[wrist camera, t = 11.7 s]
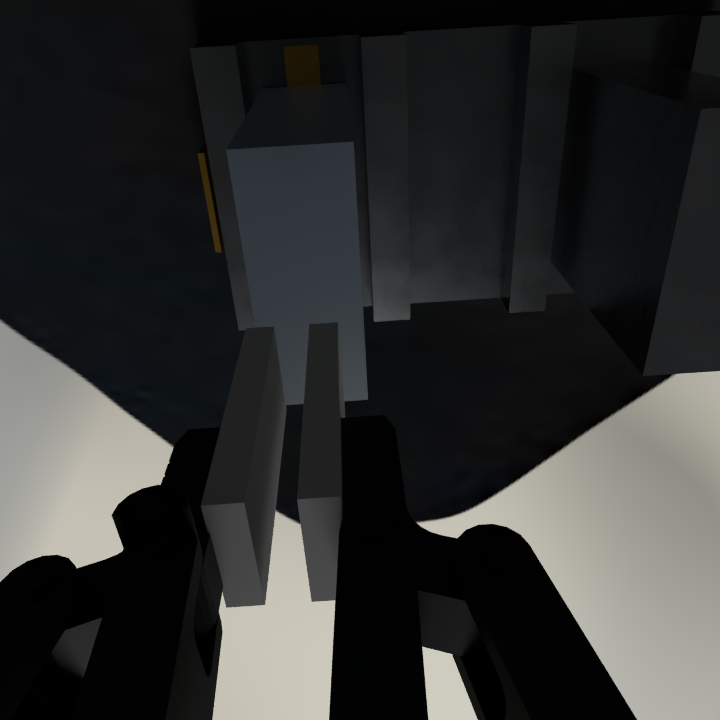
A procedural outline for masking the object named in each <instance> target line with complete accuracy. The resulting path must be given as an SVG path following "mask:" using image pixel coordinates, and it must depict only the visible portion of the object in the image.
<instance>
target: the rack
mask: <svg viewBox="0 0 720 720" xmlns="http://www.w3.org/2000/svg"><path fill="white" fill-rule="evenodd" d="M190 54H191V60H192V65H193V71H194V77H195V82H196V88H197V94H198V100H199V105H200V111H201V117H202V122H203V128H204V134H205V139H206V144H205V145H204V146H203V148H202V149H201V150H200V151H199V152H198V158H199V163H200V169H201V174H202V180H203V185H204V191H205V196H206V201H207V207H208V212H209V218H210V223H211V229H212V234H213V240H214V245H215V250H216V252H222V250H223V247H224V248H225V253H226V259H227V265H228V271H229V276H230V282H231V288H232V293H233V299H234V305H235V310H236V316H237V322H238V328H239V330H246V328H255V323H254V317H253V310H252V304H251V298H250V292H249V286H248V280H247V274H246V268H245V262H244V256H243V249H242V243H241V237H240V231H239V225H238V219H237V213H236V207H235V201H234V194H233V188H232V182H231V176H230V170H229V164H228V158H227V152H226V149H227V147H228V146H229V144H230V142H231V141H232V139H233V137H234V136H235V134H236V132H237V130H238V129H239V127H240V125H241V124H242V122H243V120H244V119H245V117H246V115H247V113H248V112H249V110H250V108H251V107H252V105H253V103H254V102H255V100H256V98H257V96H258V95H259V93H260V91H261V90H262V88H275V87H291V86H307V85H323V84H339V83H346V88H347V96H348V103H349V111H350V118H351V126H352V133H353V141H354V157H355V176H356V194H357V212H358V230H359V248H360V266H361V284H362V302H363V306H372V309H373V317H374V322H376V321H391V320H407V319H410V303H423V302H438V301H454V300H469V299H485V298H501V299H502V301H503V303H504V305H505V307H506V309H507V310H508V312H509V313H514V312H530V311H545V304H546V295H547V294H562V293H576V294H577V295H578V296H579V298H580V299H581V300H582V301H583V302H584V304H585V305H586V306H587V307H588V309H589V310H590V311H591V312H592V314H593V315H594V316H595V317H596V319H597V320H598V321H599V322H600V324H601V325H602V326H603V327H604V328H605V330H606V331H607V332H608V333H609V335H610V336H611V337H612V338H613V340H614V341H615V342H616V343H617V345H618V346H619V347H620V348H621V350H622V351H623V352H624V353H625V355H626V356H627V357H628V358H629V359H630V361H631V362H632V363H633V364H634V366H635V367H636V368H637V369H638V371H639V372H640V373H641V374H642V376H649V375H664V374H679V373H695V372H710V371H720V11H699V12H683V13H667V14H651V15H635V16H619V17H603V18H587V19H571V20H555V21H539V22H523V23H507V24H491V25H474V26H458V27H442V28H426V29H410V30H394V31H378V32H362V33H346V34H330V35H314V36H298V37H282V38H266V39H250V40H234V41H218V42H202V43H197V44H194V45H193V47H191V48H190Z"/></svg>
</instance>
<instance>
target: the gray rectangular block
mask: <svg viewBox="0 0 720 720" xmlns="http://www.w3.org/2000/svg"><path fill="white" fill-rule="evenodd" d="M226 152H227V158H228V164H229V170H230V176H231V182H232V188H233V194H234V201H235V207H236V213H237V219H238V225H239V231H240V237H241V243H242V249H243V256H244V262H245V268H246V274H247V280H248V286H249V292H250V298H251V304H252V310H253V317H254V323H255V328H256V327H271V326H275V333H276V340H277V347H278V354H279V361H280V368H281V375H282V383H283V390H284V397H285V404H286V405H293V404H304V394H305V379H306V365H307V350H308V336H309V324H318V323H333V322H338V331H339V343H340V356H341V368H342V381H343V393H344V401H354V400H368V393H367V375H366V356H365V338H364V320H363V302H362V284H361V266H360V248H359V230H358V212H357V194H356V176H355V157H354V141H353V133H352V126H351V118H350V111H349V103H348V96H347V88H346V83H339V84H323V85H307V86H291V87H275V88H262V90H261V91H260V93H259V95H258V96H257V98H256V100H255V102H254V103H253V105H252V107H251V108H250V110H249V112H248V113H247V115H246V117H245V119H244V120H243V122H242V124H241V125H240V127H239V129H238V130H237V132H236V134H235V136H234V137H233V139H232V141H231V142H230V144H229V146H228V147H227V149H226Z"/></svg>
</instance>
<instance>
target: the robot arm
mask: <svg viewBox="0 0 720 720" xmlns="http://www.w3.org/2000/svg"><path fill="white" fill-rule="evenodd" d="M285 418H286V404H285V397H284V390H283V383H282V375H281V368H280V361H279V354H278V347H277V340H276V333H275V326H271V327H256V328H246V330H245V334H244V338H243V342H242V346H241V350H240V354H239V358H238V362H237V365H236V369H235V373H234V377H233V381H232V385H231V389H230V393H229V397H228V401H227V405H226V408H225V412H224V416H223V420H222V424H221V427H218V428H203V429H189V430H188V431H187V432H186V433H185V434H184V435H183V436H182V437H181V438H180V439H179V441H178V442H177V443H176V444H175V446H174V448H173V452H172V454H171V457H170V460H169V464H168V466H167V469H166V472H165V477H163V480H162V483H161V485H156V486H151V487H147V488H143V489H141V490H139V491H137V492H135V493H133V494H130V495H129V496H128V497H126V498H125V499H124V500H123V501H122V502H121V503H119V504H118V506H117V507H116V509H115V511H114V512H113V514H112V517H113V520H114V523H115V525H116V528H117V531H118V534H119V537H120V539H121V542H122V545H123V548H124V549H123V551H122V552H121V553H119V554H118V555H115V556H113V557H110V558H108V559H105V560H102V561H99V562H96V563H93V564H90V565H87V566H83V567H80V568H77V569H76V566H75V565H74V564H73V563H72V562H71V561H70V559H69V558H66V557H62V556H59V555H50V556H41V557H39V558H36V559H33V560H30V561H27V562H25V563H24V564H22V565H20V566H19V567H17V568H16V569H14V570H12V571H11V572H10V573H9V574H8V575H7V576H6V577H5V578H4V579H3V580H2V581H1V582H0V720H212V716H213V707H214V699H215V691H216V682H217V674H218V665H219V656H220V648H221V639H222V625H221V619H220V615H219V606H220V601H221V595H222V592H223V596H224V599H225V604H226V607H240V606H255V605H265V600H266V591H267V582H268V573H269V564H270V554H271V545H272V536H273V527H274V518H275V509H276V500H277V491H278V482H279V472H280V463H281V454H282V445H283V436H284V427H285ZM297 501H298V508H299V515H300V522H301V529H302V535H303V543H304V550H305V557H306V564H307V571H308V578H309V585H310V592H311V599H312V602H313V601H329V600H336V601H335V602H336V603H335V621H334V639H333V659H332V677H331V696H330V715H329V720H428V712H427V700H426V689H425V676H424V666H423V665H424V664H423V652H422V646H423V647H427V648H431V649H435V650H439V651H442V652H446V653H451V654H453V658H454V660H455V663H456V665H457V668H458V670H459V673H460V675H461V678H462V681H463V683H464V686H465V688H466V691H467V693H468V696H469V698H470V701H471V703H472V706H473V708H474V711H475V714H476V716H477V719H478V720H637V719H636V717H635V716H634V714H633V712H632V711H631V709H630V708H629V706H628V704H627V703H626V701H625V699H624V698H623V696H622V695H621V693H620V691H619V690H618V688H617V687H616V685H615V683H614V682H613V680H612V678H611V677H610V675H609V673H608V672H607V670H606V669H605V667H604V665H603V664H602V662H601V661H600V659H599V657H598V656H597V654H596V652H595V651H594V649H593V647H592V646H591V644H590V643H589V641H588V640H587V638H586V636H585V635H584V633H583V631H582V630H581V628H580V627H579V625H578V623H577V622H576V620H575V618H574V617H573V615H572V613H571V612H570V610H569V608H568V607H567V605H566V604H565V602H564V600H563V599H562V597H561V595H560V594H559V592H558V591H557V589H556V587H555V586H554V584H553V582H552V581H551V579H550V578H549V576H548V574H547V573H546V571H545V569H544V568H543V566H542V565H541V563H540V562H539V560H538V558H537V556H536V555H535V553H534V552H533V550H532V548H531V547H530V545H529V544H528V543H527V542H526V541H525V539H524V538H523V537H522V536H521V535H520V534H518V533H516V532H515V531H513V530H511V529H509V528H507V527H503V526H499V525H494V524H487V525H477V526H475V527H472V528H470V529H467V530H466V531H465V532H464V533H463V534H462V535H461V536H460V537H458V539H457V538H452V537H447V536H442V535H438V534H435V533H432V532H429V531H427V530H426V529H424V528H422V527H420V526H419V525H418V524H417V523H416V522H415V521H414V520H413V519H412V517H411V516H410V515H409V513H408V510H407V506H406V500H405V493H404V486H403V479H402V472H401V465H400V460H399V451H398V445H397V437H396V430H395V427H394V426H393V425H392V424H391V423H390V421H389V420H388V419H387V418H386V417H385V415H378V416H362V417H347V418H345V405H344V393H343V381H342V368H341V356H340V343H339V331H338V322H333V323H318V324H309V336H308V350H307V365H306V379H305V394H304V408H303V423H302V437H301V452H300V466H299V481H298V495H297Z"/></svg>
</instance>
